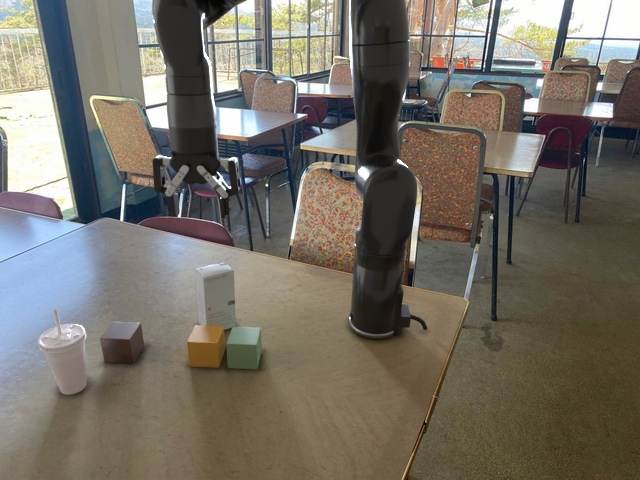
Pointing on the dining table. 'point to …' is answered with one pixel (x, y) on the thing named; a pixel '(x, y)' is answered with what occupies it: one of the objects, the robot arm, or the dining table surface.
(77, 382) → the smoothie
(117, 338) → the block walnut
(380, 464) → the dining table surface
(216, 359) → the block ochre
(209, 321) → the cosmetic box
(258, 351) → the block sage
